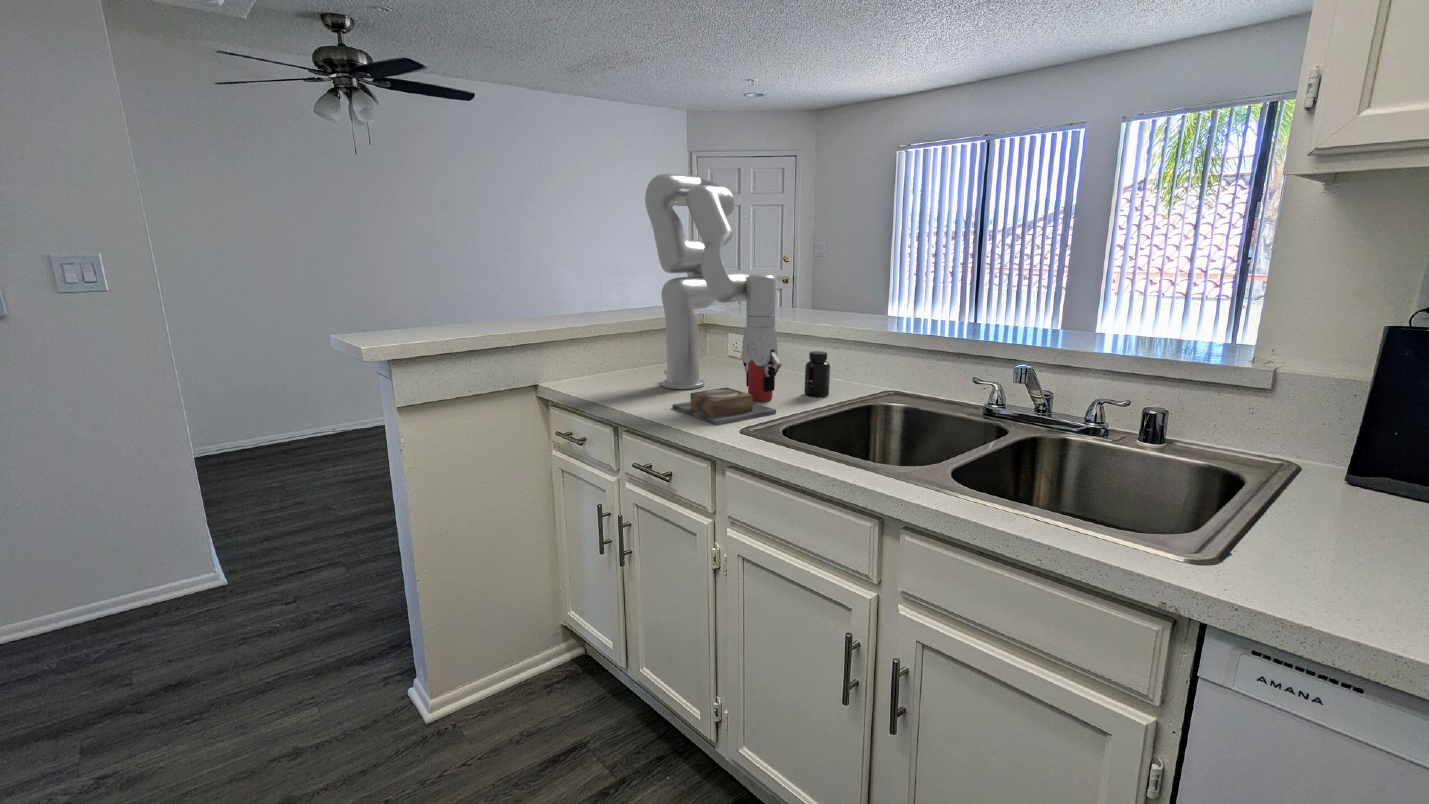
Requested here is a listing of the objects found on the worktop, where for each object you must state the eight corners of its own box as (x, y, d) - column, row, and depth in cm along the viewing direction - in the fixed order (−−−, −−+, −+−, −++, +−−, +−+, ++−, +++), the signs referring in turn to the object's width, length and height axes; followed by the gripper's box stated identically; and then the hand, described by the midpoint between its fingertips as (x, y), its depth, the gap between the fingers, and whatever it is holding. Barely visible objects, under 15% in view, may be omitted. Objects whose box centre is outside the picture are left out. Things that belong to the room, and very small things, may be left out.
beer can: (770, 403, 177) (771, 358, 174) (746, 402, 179) (746, 357, 176) (773, 397, 183) (774, 354, 181) (749, 396, 185) (750, 353, 182)
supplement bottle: (801, 396, 184) (802, 353, 181) (807, 391, 190) (808, 349, 187) (826, 398, 181) (827, 355, 179) (831, 393, 188) (833, 351, 185)
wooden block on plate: (672, 408, 173) (671, 388, 171) (729, 398, 183) (729, 379, 181) (716, 425, 157) (716, 403, 155) (776, 413, 166) (776, 393, 165)
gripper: (729, 320, 181) (730, 384, 185) (770, 326, 167) (769, 396, 171) (751, 318, 185) (751, 381, 189) (793, 324, 171) (792, 392, 175)
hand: (760, 388), depth 180 cm, fingers open, 6 cm apart
